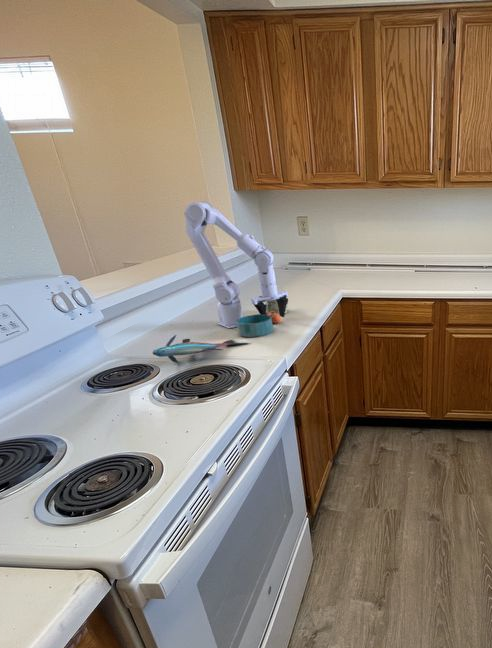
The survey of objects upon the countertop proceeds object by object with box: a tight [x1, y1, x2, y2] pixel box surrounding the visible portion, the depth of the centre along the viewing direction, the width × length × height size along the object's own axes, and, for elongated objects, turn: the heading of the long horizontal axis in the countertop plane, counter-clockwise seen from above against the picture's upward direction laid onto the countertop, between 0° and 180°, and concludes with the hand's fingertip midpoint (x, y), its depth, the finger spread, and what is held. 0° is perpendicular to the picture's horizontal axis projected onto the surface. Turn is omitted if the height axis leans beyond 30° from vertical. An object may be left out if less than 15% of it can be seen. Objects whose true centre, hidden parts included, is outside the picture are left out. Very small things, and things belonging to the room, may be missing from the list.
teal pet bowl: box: [236, 313, 274, 338], centre depth 150 cm, size 12×12×5 cm
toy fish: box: [266, 311, 282, 325], centre depth 161 cm, size 9×4×4 cm, turn 48°
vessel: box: [265, 299, 289, 315], centre depth 173 cm, size 12×9×6 cm
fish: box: [152, 334, 250, 364], centre depth 129 cm, size 30×8×15 cm
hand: (273, 318), depth 161 cm, fingers open, 7 cm apart
